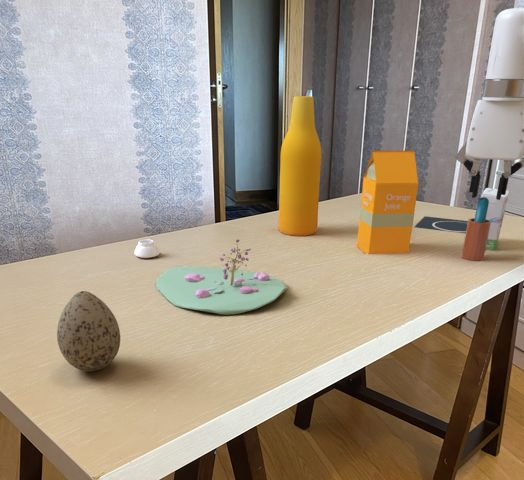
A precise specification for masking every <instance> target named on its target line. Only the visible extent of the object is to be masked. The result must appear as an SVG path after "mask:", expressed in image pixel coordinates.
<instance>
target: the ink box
mask: <svg viewBox="0 0 524 480" xmlns="http://www.w3.org/2000/svg"><path fill="white" fill-rule="evenodd" d="M497 191H498V188H491V187H485V189H484V190H483V191H482V194H481V196H480V198H482V197H486V198H488V200H489V205H488V210H487V215H486V219H487V220H490V221H491V226H490V230H489V235H488V240H487V245H486V249H485V251H494V252H495V251H496V248H497V246H498V242H499V238H500V235H501V230H502V226H503V221H504V217H505V212H506V208H507V202H508V198H509V193H510V190H508V189H506V194H505V195H501V199H500V200H497V199H496V196H497Z"/></svg>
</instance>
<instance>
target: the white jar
mask: <svg viewBox="0 0 524 480" xmlns="http://www.w3.org/2000/svg"><path fill="white" fill-rule="evenodd" d="M137 243H138V244H136V246H135V248H134V249H135V250H134V251H133V254H134V256H136V257H137V258H141V259H151V258H155V257H157V256H160V254H161V251H160V249H159V247H158V245H157V244H156V243H155V240H153V239H149V238H147V239H146V238H145V239H144V238H143V239H139V240H138V242H137Z"/></svg>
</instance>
